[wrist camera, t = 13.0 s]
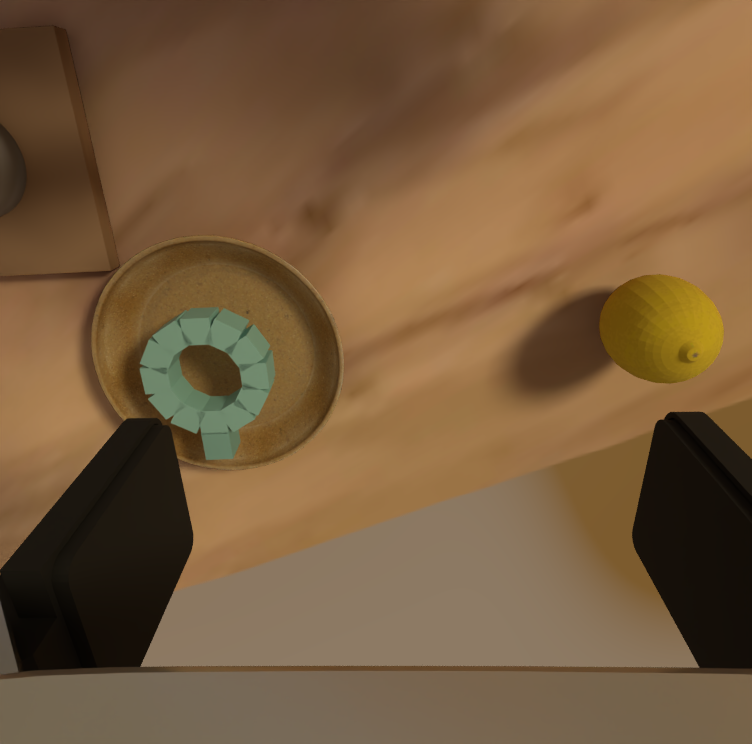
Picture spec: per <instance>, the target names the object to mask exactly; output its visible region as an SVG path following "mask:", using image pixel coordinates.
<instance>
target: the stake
mask: <svg viewBox="0 0 752 744" xmlns="http://www.w3.org/2000/svg"><path fill="white" fill-rule="evenodd" d="M119 266H120V264H119V260H118V256H117V251H116V247H115V243H114V238H113V234H112V229H111V225H110V221H109V216H108V212H107V208H106V203H105V199H104V195H103V190H102V186H101V181H100V177H99V173H98V168H97V164H96V160H95V155H94V151H93V146H92V142H91V138H90V133H89V129H88V125H87V120H86V116H85V112H84V107H83V103H82V98H81V94H80V90H79V85H78V81H77V77H76V72H75V68H74V63H73V59H72V55H71V50H70V46H69V42H68V37H67V33H66V30H65V29H62V28H59V27H56V26H39V27H23V28H6V29H0V276H15V275H35V274H55V273H75V272H94V271H111V270H113V269H115V268H117V267H119Z"/></svg>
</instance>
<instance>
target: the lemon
mask: <svg viewBox="0 0 752 744" xmlns="http://www.w3.org/2000/svg"><path fill="white" fill-rule="evenodd" d="M599 330H600V337H601V340H602V342H603V345H604V347H605V349H606V351H607V353H608V354H609V355H610V357H611V358H612V359H613V360H614V361H615V362H616V364H617V365H618V366H620V367H621V368H623V369H624V370H626V371H627V372H629V373H630V374H632V375H634V376H636V377H638V378H641V379H644V380H648V381H651V382H655V383H677V382H682V381H686V380H688V379H691V378H693V377H696V376H697V375H699V374H700V373H702V372H703V371H705V370H706V369H707V368H708V367H709V366H710V365H711V364H712V363H713V361H714V360H715V358H716V357H717V355H718V354H719V351H720V349H721V346H722V343H723V334H724V329H723V323H722V319H721V316H720V314H719V312H718V310H717V308H716V307H715V305H714V303H713V302H712V301H711V300H710V299H709V298H708V297H707V296H706V295H705V294H704V293H703V292H702V291H701V290H700V289H699V288H698V287H696V286H695V285H693V284H691V283H689V282H687V281H685V280H683V279H680V278H677V277H672V276H667V275H660V274H659V275H645V276H641V277H638V278H635V279H632V280H630V281H628V282H626V283H624V284H623V285H621V286H620V287H618V288H617V289H616V290H615V291H614V292H613V293H612V294H611V295H610V297H609V298H608V299H607V301H606V302H605V304H604V306H603V309H602V311H601V315H600V321H599Z"/></svg>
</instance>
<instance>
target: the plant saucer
mask: <svg viewBox="0 0 752 744" xmlns="http://www.w3.org/2000/svg"><path fill="white" fill-rule="evenodd" d="M208 307H218V308H219V313H220V312H221V311H222V310H223V308H225V309H227V310H229V311H231V312H233V313H235V314H237V315H239V316H242V317H244V318H246V319H248V320H249V323H248V325H247V327H246V328H248V327H250V326H251V325H253V324H254V325H255V326H256V327H257V329H258V330H259V331H260V332H261V334H262V335H263V336H264V338H265V339H266V340H267V342H268V343H269V344H270V347H269V349H268V350H272V352H273V359H274V367H275V377H274V379H275V380H274V382H273V385H272V387H271V390H270V392H269V394H268V396H267V399H266V401H265V403H264V405H263V407H262V409H261V411H260V413H259V415H258V416H257V415H256V418H255V419H254V420H253V421H251V422H250V423H248V424H246V425H245V426H243V427H241V428H240V429H239V435H240V441H241V442H240V444H239V447H238V449H237V451H236V454H235V456H234V458H233V459H219V460H206V456H205V451H204V446H203V441H202V436H201V429H199V430H198V432H197V434H196V433H193V432H191V431H189V430H186V429H184V428H182V427H179V426H177V425H175V424H172V423H171V421H172V419H173V416H174V415H173V416H171V417H170V418H168V419H165V418H164V417H163V415H162V414H161V413H160V412H159V411H158V410H157V409H156V408H155V406H154V405H153V404H152V403H151V402H150V401H149V400H148V398H149V397H150V396H151V395H152V394H145V390H144V386H143V382H142V377H141V373H140V368H141V367H142V366H143V365H142V364H140V362H141V359H142V357H143V354H144V351H145V349H146V346H147V343H148V341H149V339H150V338H151V337H152V335H153V334H155V333H156V332H157V331H158V330H159V329H160V328H161V327H162V326H163V325H164V324H166V323H167V322H169V321H170V320H172V319H173V318H175V317H176V316H178V315H179V314H181V313H182V312H184V311H185V310H186V311H189V310H190V309H191V308H208ZM91 330H92V334H91V351H92V358H93V362H94V366H95V371H96V373H97V376H98V379H99V383H100V385H101V387H102V389H103V391H104V393H105V395H106V397H107V399H108V400H109V402H110V403H111V405H112V407H113V408H114V410H115V411H116V412H117V413H118V415H119V416H120V417H121V418H122V419H123V420H124V421H125V420H126V419H128V418H158V419H160V421H161V423H162V425H168V426H169V427H170V429H171V431H172V435H173V440H174V445H175V450H176V454H177V459H179V460H181V461H184V462H187V463H190V464H193V465H197V466H201V467H206V468H214V469H220V470H243V469H250V468H257V467H261V466H265V465H268V464H271V463H275V462H277V461H280V460H282V459H284V458H287V457H288V456H290V455H292V454H294V453H295V452H297V451H298V450H300V449H301V448H303V447H304V446H305V445H306V444H308V443H309V442H310V441H311V440H312V439H313V438H314V437H315V436H316V435H317V434H318V433H319V432H320V431H321V430H322V428H323V427H324V426H325V424H326V423H327V421H328V419H329V418H330V416H331V414H332V412H333V410H334V408H335V406H336V404H337V402H338V399H339V396H340V392H341V387H342V383H343V373H344V361H343V359H344V358H343V349H342V344H341V339H340V335H339V332H338V329H337V326H336V323H335V320H334V318H333V316H332V314H331V312H330V310H329V308H328V306H327V305H326V303H325V301H324V300H323V298H322V297H321V296H320V294H319V293H318V291H317V290H316V289H315V288H314V287H313V286H312V284H311V283H310V282H309V281H308V280H307V279H306V278H305V277H304V276H303V275H302V274H301V273H300V272H299V271H298V270H297V269H295V268H294V267H293V266H291V265H290V264H289V263H287V262H286V261H284V260H283V259H281V258H280V257H278V256H277V255H275V254H273V253H271V252H269V251H267V250H265V249H263V248H261V247H259V246H256V245H254V244H251V243H248V242H244V241H241V240H237V239H233V238H228V237H221V236H212V235H198V236H186V237H180V238H174V239H171V240H167V241H164V242H161V243H158V244H155V245H153V246H151V247H149V248H147V249H145V250H143V251H141V252H140V253H138V254H136V255H135V256H133V257H132V258H131V259H129V260H128V261H127V262H126V263H125V264H124V265H123V266H121V267H120V268H119V269H118V271H117V272H116V273H115V274H114V276H113V277H112V278H111V280H110V281H109V282H108V284H107V285H106V286H105V288H104V290H103V292H102V294H101V296H100V298H99V301H98V304H97V306H96V310H95V314H94V318H93V323H92V329H91ZM179 361H180V366H181V371H182V375H183V376H184V378H185V379H186V380H187V381H188V382H189V383H190V385H191V386H192V387H193V388H194V389H196V390H198V391H200V392H202V393H205V394H207V395H209V396H229V395H230V394H232V393H234V392H235V391H237V390H238V389H240V388H242V381H241V375H240V368H239V367H238V366H237V365H236V363H235V362H234V361H233V360H232V358H231V357H230V356H229V355H228V353H226V352H224V351H222V350H219V349H217V348H215V347H213V346H211V345H189V346H187V347H186V348H184V349H183V350H182V352H181V355H180V357H179Z"/></svg>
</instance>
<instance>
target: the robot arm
mask: <svg viewBox="0 0 752 744" xmlns="http://www.w3.org/2000/svg"><path fill="white" fill-rule="evenodd" d="M632 538H633V544H634V548H635V550H636V552H637V554H638V555H639V557H640V559H641V561H642V563H643V565H644V566H645V568H646V570H647V572H648V574H649V576H650V577H651V579H652V581H653V583H654V585H655V587H656V588H657V590H658V592H659V594H660V596H661V598H662V599H663V601H664V603H665V605H666V607H667V609H668V610H669V612H670V614H671V616H672V618H673V619H674V621H675V623H676V625H677V627H678V629H679V630H680V632H681V634H682V636H683V638H684V640H685V642H686V643H687V645H688V647H689V649H690V650H691V652H692V654H693V656H694V658H695V660H696V662H697V664H698V665H699V667H700V668H677V667H676V668H675V667H674V668H673V667H671V668H670V667H665V668H664V667H554V666H548V667H547V666H546V667H545V666H175V667H173V666H172V667H140V666H141V664H142V662H143V659H144V657H145V655H146V652H147V650H148V648H149V646H150V643H151V641H152V639H153V637H154V634H155V632H156V630H157V628H158V625H159V623H160V621H161V619H162V616H163V614H164V612H165V609H166V607H167V605H168V603H169V600H170V598H171V596H172V594H173V591H174V589H175V587H176V585H177V582H178V580H179V578H180V575H181V573H182V571H183V569H184V566H185V564H186V562H187V560H188V557H189V555H190V553H191V550H192V546H193V530H192V525H191V521H190V516H189V511H188V507H187V502H186V497H185V492H184V488H183V483H182V478H181V473H180V469H179V464H178V459H177V454H176V450H175V445H174V440H173V435H172V431H171V429H170V427H169V426H168V425H162V423H161V421H160V419H158V418H128V419H126V420H125V421H124V422H123V423H122V424H121V425H120V426H119V428H118V429H117V430H116V431H115V432H114V434H113V435H112V436H111V437H110V438H109V440H108V441H107V442H106V443H105V444H104V446H103V447H102V448H101V449H100V450H99V452H98V453H97V454H96V455H95V457H94V458H93V459H92V460H91V461H90V463H89V464H88V465H87V466H86V467H85V469H84V470H83V471H82V472H81V473H80V475H79V476H78V477H77V478H76V479H75V481H74V482H73V483H72V484H71V485H70V487H69V488H68V489H67V490H66V491H65V493H64V494H63V495H62V496H61V497H60V499H59V500H58V501H57V502H56V503H55V505H54V506H53V507H52V508H51V509H50V511H49V512H48V513H47V514H46V516H45V517H44V518H43V519H42V520H41V522H40V523H39V524H38V525H37V526H36V528H35V529H34V530H33V531H32V532H31V534H30V535H29V536H28V537H27V538H26V540H25V541H24V542H23V543H22V544H21V546H20V547H19V548H18V549H17V550H16V552H15V553H14V554H13V555H12V556H11V558H10V559H9V560H8V561H7V562H6V564H5V565H4V566H3V567H2V568H1V570H0V573H1V575H0V744H752V459H751V458H750V457H749V456H748V455H747V454H746V453H745V452H744V451H743V450H742V449H741V448H740V447H739V446H738V445H737V444H736V443H735V442H734V441H733V440H732V439H731V438H730V437H729V436H728V435H727V434H726V433H725V432H723V430H722V429H721V428H719V426H717V424H715V423H714V421H713V420H712V419H711V418H709V417H708V416H707V415H706V414H705V413H703V412H670V413H668V414H667V415H666V417H665V419H664V420H659V421H657V423H656V425H655V428H654V433H653V438H652V442H651V447H650V452H649V456H648V461H647V465H646V470H645V475H644V479H643V484H642V489H641V493H640V498H639V502H638V507H637V512H636V517H635V521H634V526H633V532H632Z"/></svg>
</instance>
